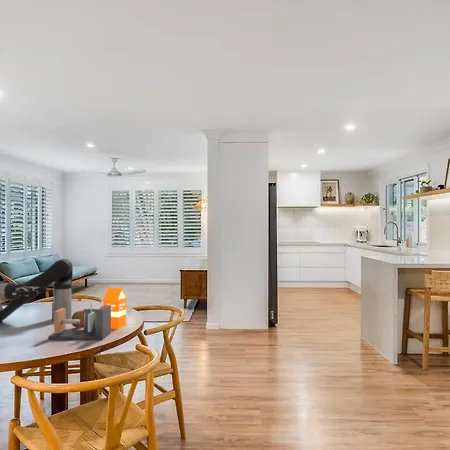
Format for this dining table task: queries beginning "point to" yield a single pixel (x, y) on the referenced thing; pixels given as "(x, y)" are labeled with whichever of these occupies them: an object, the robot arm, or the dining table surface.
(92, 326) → the pointer
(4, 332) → the dining table surface
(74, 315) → the tin
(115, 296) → the orange juice
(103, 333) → the grey l-shaped bracket
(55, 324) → the plunger
